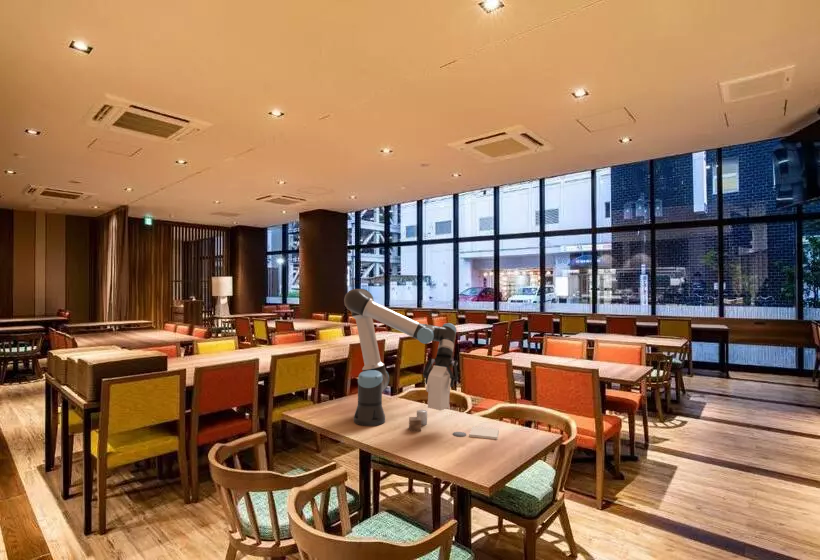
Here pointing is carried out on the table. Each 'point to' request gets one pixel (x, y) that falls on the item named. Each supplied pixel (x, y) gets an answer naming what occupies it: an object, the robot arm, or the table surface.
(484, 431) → the plate
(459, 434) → the slate coaster
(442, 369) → the milk carton
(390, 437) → the table surface
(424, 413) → the white small cylinder
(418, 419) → the walnut block
